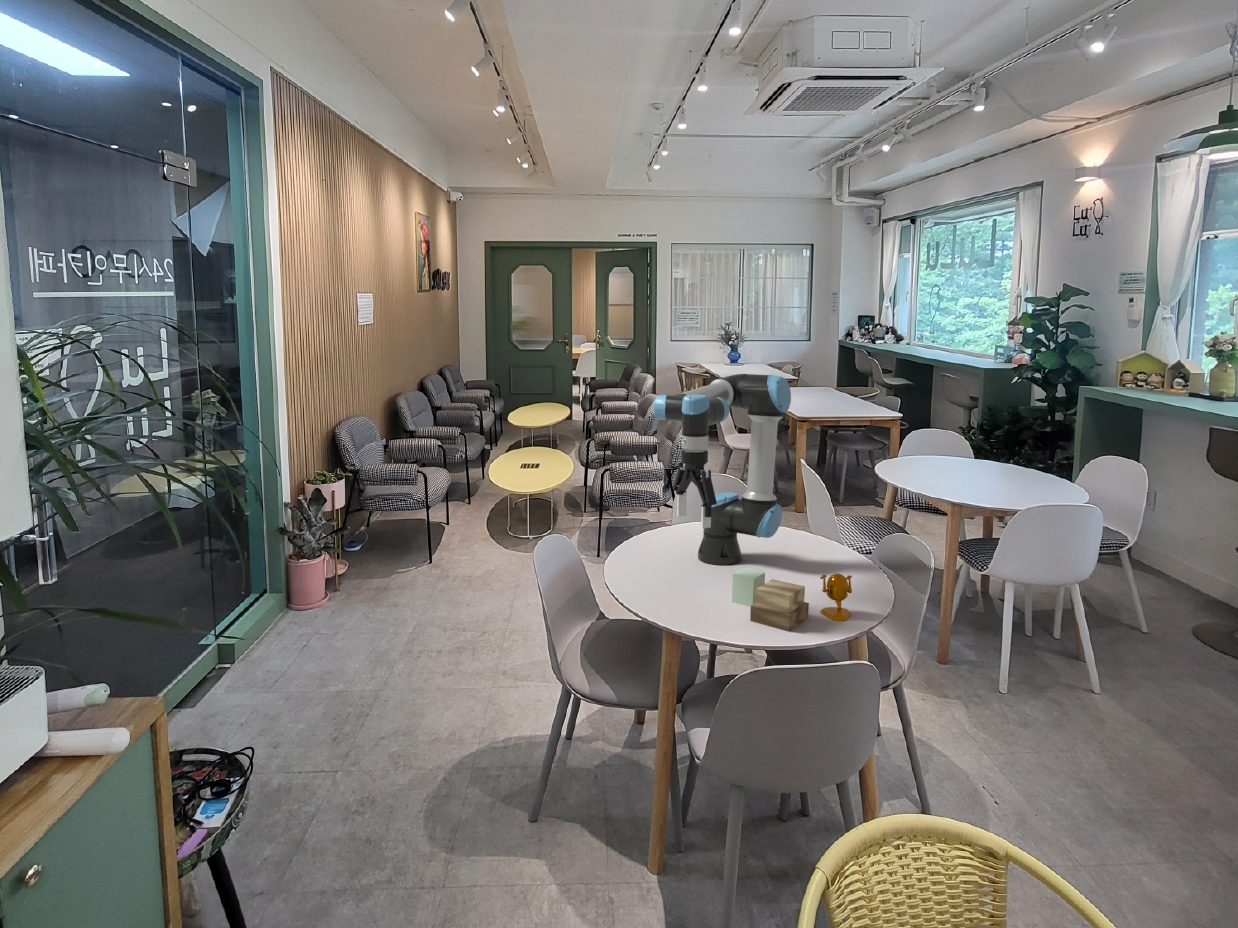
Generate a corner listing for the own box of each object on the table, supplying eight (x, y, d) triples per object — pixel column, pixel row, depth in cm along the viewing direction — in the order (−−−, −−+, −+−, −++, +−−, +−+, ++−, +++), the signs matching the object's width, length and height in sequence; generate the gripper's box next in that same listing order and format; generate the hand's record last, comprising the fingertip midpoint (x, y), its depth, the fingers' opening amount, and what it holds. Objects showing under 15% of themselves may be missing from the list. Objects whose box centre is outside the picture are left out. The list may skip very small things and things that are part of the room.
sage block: (743, 595, 250) (744, 567, 248) (763, 600, 246) (765, 572, 244) (731, 602, 244) (732, 573, 243) (752, 607, 240) (753, 578, 238)
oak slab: (772, 595, 237) (772, 579, 236) (804, 603, 231) (804, 586, 230) (755, 605, 229) (756, 588, 228) (788, 613, 223) (789, 596, 222)
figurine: (847, 607, 240) (849, 568, 238) (855, 621, 230) (858, 581, 227) (817, 606, 241) (820, 568, 239) (824, 620, 230) (827, 580, 228)
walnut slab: (770, 609, 240) (770, 593, 239) (808, 619, 232) (808, 603, 231) (750, 622, 230) (750, 605, 229) (788, 632, 223) (789, 615, 222)
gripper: (661, 443, 240) (661, 512, 245) (706, 458, 218) (705, 534, 223) (683, 441, 244) (682, 509, 248) (730, 456, 222) (728, 531, 226)
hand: (693, 521), depth 235 cm, fingers open, 13 cm apart
